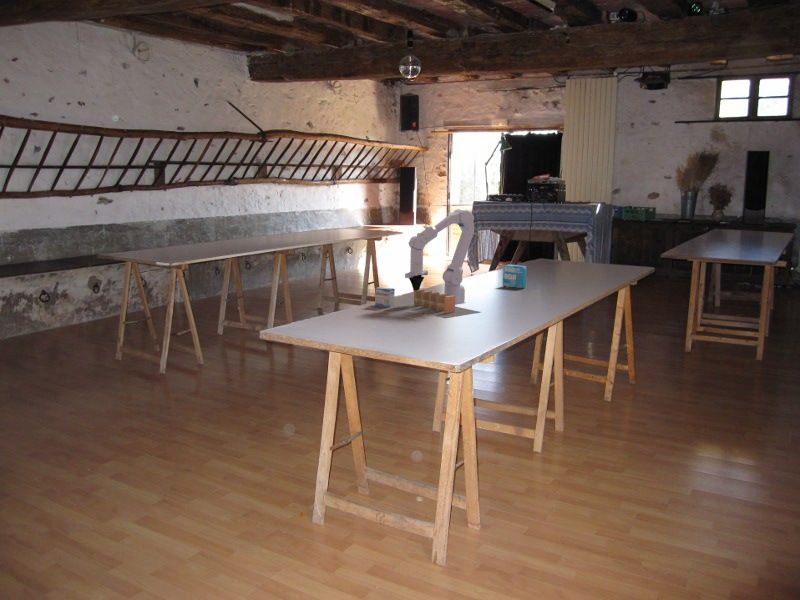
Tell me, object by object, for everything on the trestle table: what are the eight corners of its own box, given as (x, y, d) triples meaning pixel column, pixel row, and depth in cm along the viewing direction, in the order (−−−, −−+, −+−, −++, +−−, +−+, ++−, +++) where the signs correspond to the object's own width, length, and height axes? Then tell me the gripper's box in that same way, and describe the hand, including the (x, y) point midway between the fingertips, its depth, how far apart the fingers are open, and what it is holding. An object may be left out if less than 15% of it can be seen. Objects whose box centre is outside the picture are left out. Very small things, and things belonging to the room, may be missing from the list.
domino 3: (428, 309, 305) (429, 293, 303) (436, 308, 308) (437, 292, 307) (430, 309, 304) (431, 293, 302) (439, 308, 307) (439, 292, 305)
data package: (502, 286, 373) (503, 265, 371) (505, 285, 377) (506, 264, 375) (523, 289, 367) (524, 266, 365) (526, 287, 370) (527, 266, 368)
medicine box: (374, 306, 312) (374, 288, 310) (379, 305, 316) (379, 286, 314) (389, 308, 308) (390, 289, 307) (394, 306, 312) (394, 288, 310)
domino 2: (421, 307, 308) (421, 291, 307) (429, 306, 312) (429, 290, 310) (423, 308, 307) (423, 292, 306) (431, 306, 310) (431, 291, 309)
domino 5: (444, 312, 297) (444, 296, 296) (452, 311, 300) (452, 295, 299) (446, 313, 296) (447, 297, 295) (454, 312, 299) (455, 295, 298)
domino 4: (436, 311, 301) (436, 295, 300) (444, 309, 304) (444, 293, 303) (438, 311, 300) (439, 295, 298) (446, 310, 303) (447, 294, 302)
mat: (432, 302, 324) (432, 301, 324) (481, 313, 300) (481, 312, 300) (396, 307, 310) (396, 306, 310) (445, 319, 286) (445, 318, 286)
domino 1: (413, 305, 312) (414, 290, 311) (422, 304, 315) (422, 289, 314) (416, 306, 311) (416, 290, 310) (424, 305, 314) (424, 289, 313)
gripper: (413, 264, 303) (413, 295, 306) (433, 262, 314) (432, 291, 317) (401, 263, 308) (401, 293, 310) (421, 260, 319) (420, 289, 321)
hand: (416, 292), depth 314 cm, fingers closed
